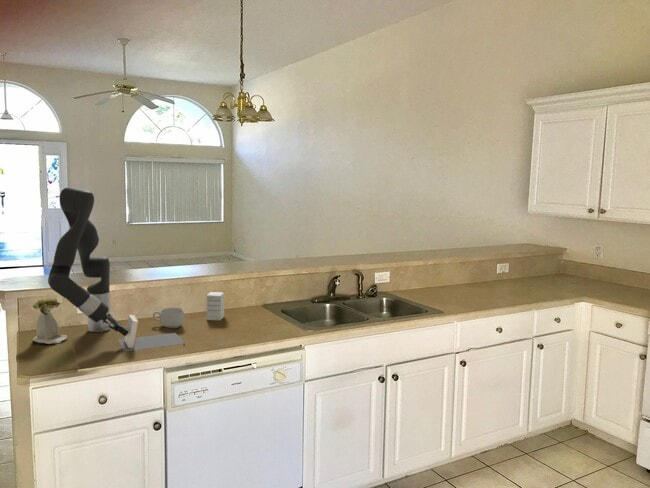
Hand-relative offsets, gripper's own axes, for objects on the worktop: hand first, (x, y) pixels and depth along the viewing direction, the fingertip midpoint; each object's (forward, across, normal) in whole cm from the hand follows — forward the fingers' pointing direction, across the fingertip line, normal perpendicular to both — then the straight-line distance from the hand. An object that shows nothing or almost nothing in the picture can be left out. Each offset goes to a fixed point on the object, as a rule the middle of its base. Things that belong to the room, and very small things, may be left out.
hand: (126, 333), depth 209 cm
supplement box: (+36, +26, -28) cm, 53 cm away
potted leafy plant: (-15, +21, +23) cm, 35 cm away
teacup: (+19, +21, -11) cm, 31 cm away
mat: (+11, 0, -3) cm, 11 cm away
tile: (+4, 0, +3) cm, 4 cm away
